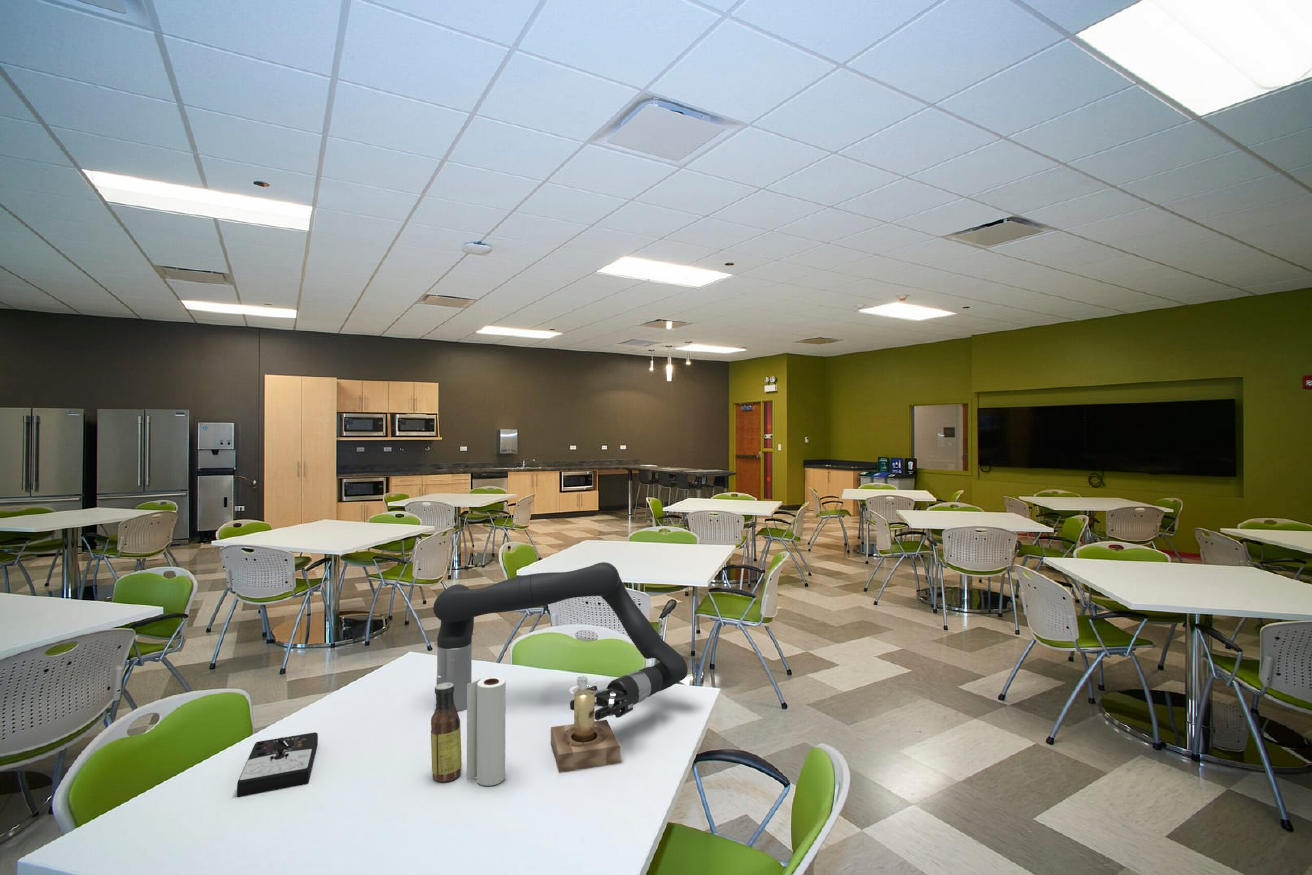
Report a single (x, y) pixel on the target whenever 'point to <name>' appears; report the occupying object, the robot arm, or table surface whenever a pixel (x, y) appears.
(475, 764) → the paper towel roll
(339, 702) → the table surface
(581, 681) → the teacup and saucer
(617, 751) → the jig
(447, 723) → the sauce bottle
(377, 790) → the table surface
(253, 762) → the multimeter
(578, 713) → the yellow cylinder peg
